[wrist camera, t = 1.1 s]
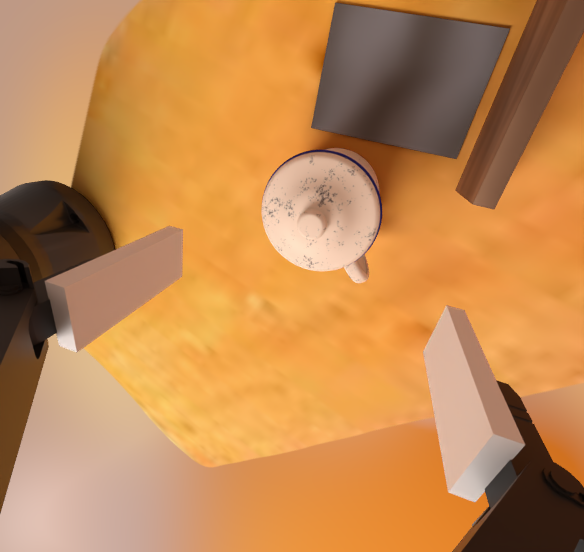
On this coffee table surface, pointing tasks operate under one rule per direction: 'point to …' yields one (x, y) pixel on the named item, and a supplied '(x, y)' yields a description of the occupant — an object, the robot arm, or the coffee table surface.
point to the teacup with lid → (324, 211)
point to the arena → (444, 84)
